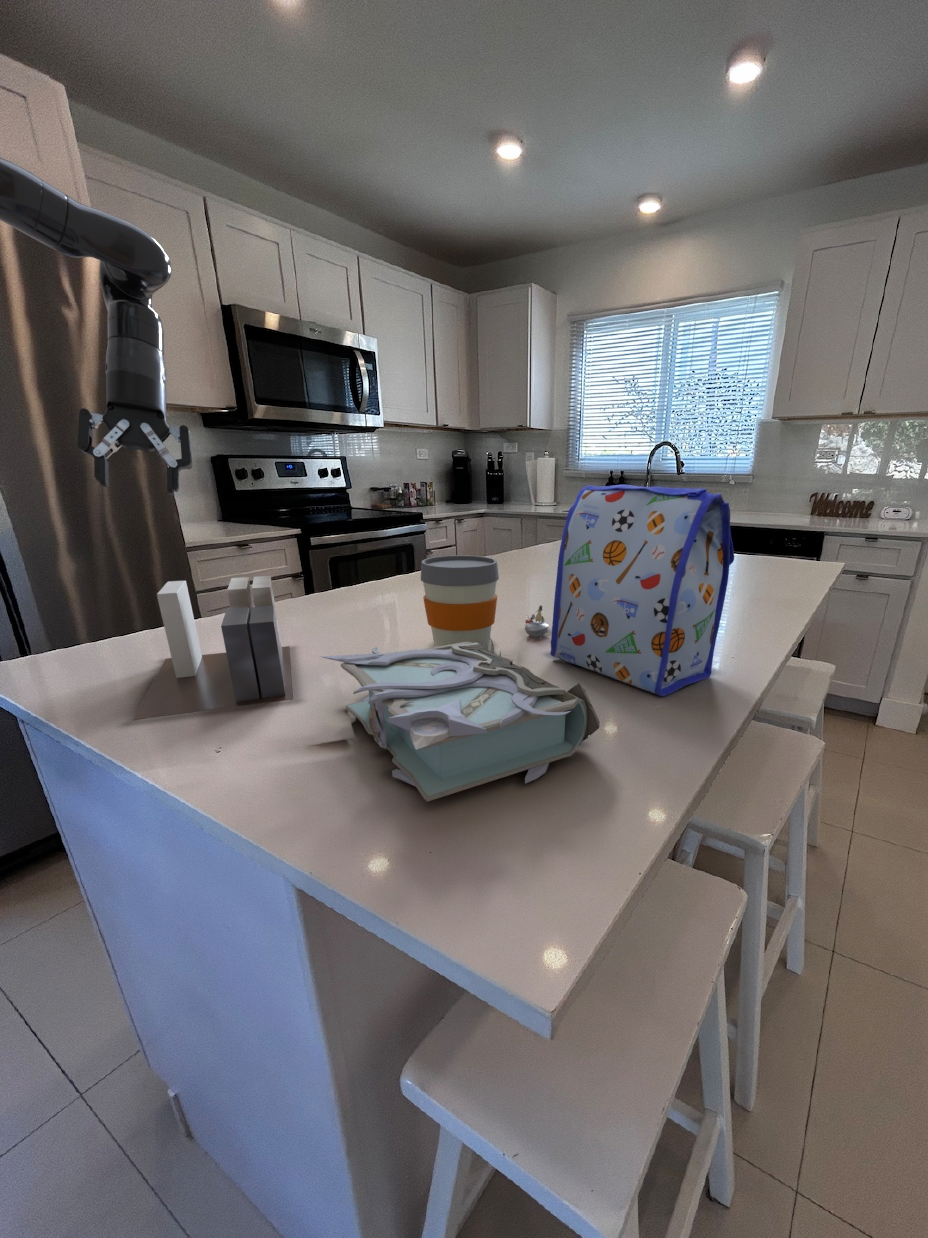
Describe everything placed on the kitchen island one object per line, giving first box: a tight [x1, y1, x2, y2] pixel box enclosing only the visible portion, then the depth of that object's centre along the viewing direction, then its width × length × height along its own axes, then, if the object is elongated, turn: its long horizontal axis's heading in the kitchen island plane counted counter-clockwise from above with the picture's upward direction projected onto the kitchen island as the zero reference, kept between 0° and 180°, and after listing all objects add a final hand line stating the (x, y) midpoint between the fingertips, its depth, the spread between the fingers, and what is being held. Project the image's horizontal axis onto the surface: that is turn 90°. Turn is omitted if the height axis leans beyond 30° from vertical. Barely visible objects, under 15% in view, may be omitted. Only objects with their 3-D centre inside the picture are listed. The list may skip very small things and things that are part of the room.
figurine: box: [524, 604, 550, 641], centre depth 102 cm, size 5×4×6 cm
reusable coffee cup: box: [420, 554, 500, 651], centre depth 93 cm, size 13×13×15 cm
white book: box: [156, 580, 203, 678], centre depth 81 cm, size 2×9×12 cm, turn 22°
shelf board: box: [132, 575, 295, 721], centre depth 78 cm, size 18×24×13 cm
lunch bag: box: [550, 484, 735, 697], centre depth 83 cm, size 23×17×27 cm
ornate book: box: [318, 635, 601, 803], centre depth 65 cm, size 23×10×30 cm
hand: (138, 490), depth 86 cm, fingers open, 8 cm apart
